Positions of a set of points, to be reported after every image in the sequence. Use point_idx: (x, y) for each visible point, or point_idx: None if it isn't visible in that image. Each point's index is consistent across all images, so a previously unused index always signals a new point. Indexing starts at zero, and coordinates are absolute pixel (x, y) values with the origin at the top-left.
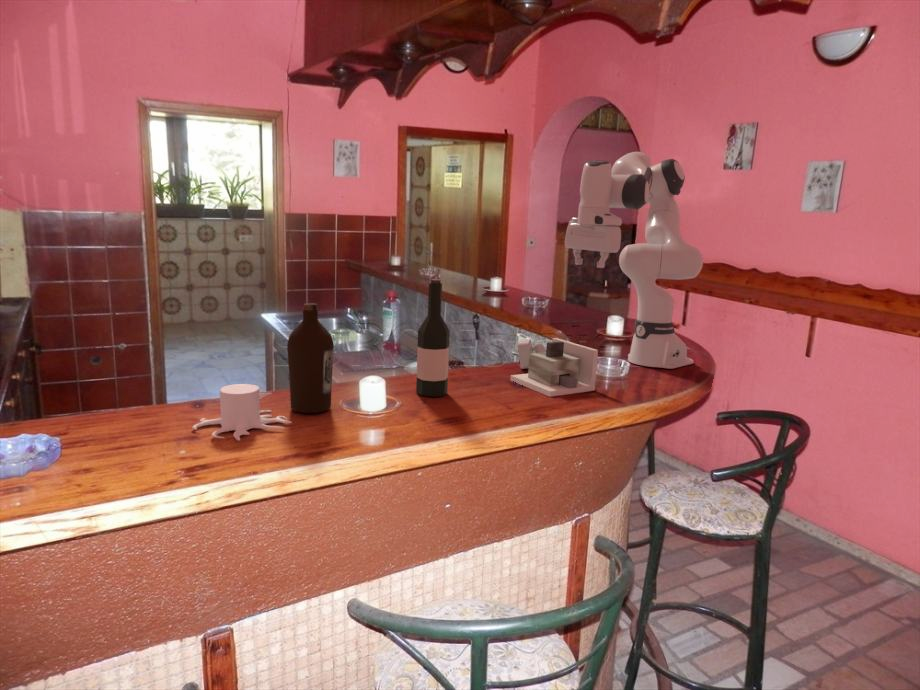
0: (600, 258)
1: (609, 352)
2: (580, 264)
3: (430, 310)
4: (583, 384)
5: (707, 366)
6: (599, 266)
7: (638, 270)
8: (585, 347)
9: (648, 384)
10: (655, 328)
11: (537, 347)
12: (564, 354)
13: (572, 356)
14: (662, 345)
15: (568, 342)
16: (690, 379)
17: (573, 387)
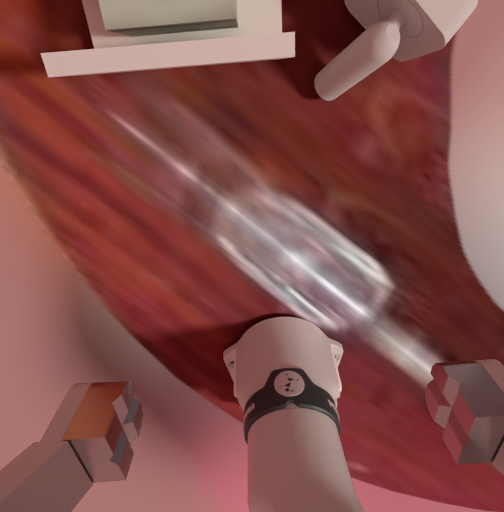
0: (13, 483)
1: (403, 342)
2: (431, 384)
3: None
4: (111, 41)
5: (233, 417)
6: (78, 387)
7: None
8: (98, 57)
9: (139, 244)
10: (253, 405)
11: (371, 27)
12: (178, 11)
13: (141, 22)
14: (240, 381)
15: (200, 49)
16: (159, 340)
17: None
